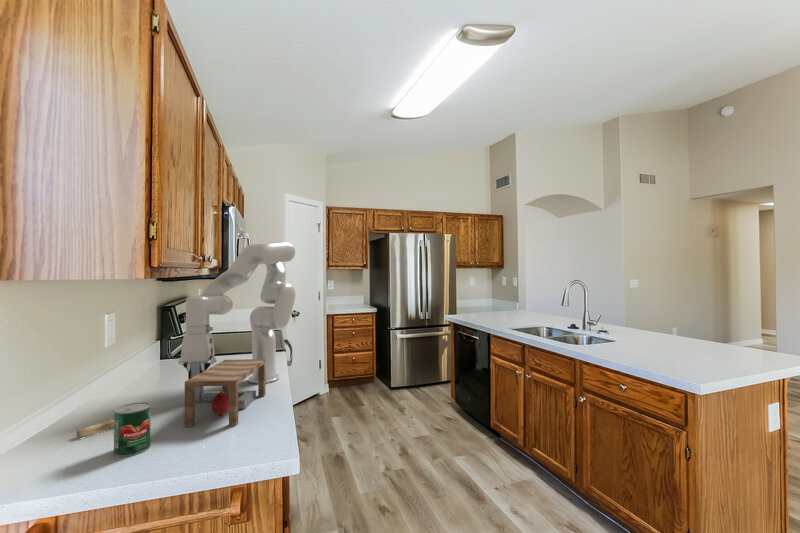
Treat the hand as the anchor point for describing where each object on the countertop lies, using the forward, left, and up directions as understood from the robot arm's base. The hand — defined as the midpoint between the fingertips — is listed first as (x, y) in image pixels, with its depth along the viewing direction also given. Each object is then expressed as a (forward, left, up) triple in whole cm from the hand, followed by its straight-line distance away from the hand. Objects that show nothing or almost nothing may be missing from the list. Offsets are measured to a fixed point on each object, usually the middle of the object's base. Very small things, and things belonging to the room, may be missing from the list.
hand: (197, 380), depth 136 cm
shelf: (+10, +15, -7) cm, 19 cm away
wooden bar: (+24, -14, -8) cm, 29 cm away
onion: (+15, +15, -7) cm, 22 cm away
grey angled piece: (+4, +9, -7) cm, 13 cm away
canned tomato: (+38, +2, -7) cm, 39 cm away
